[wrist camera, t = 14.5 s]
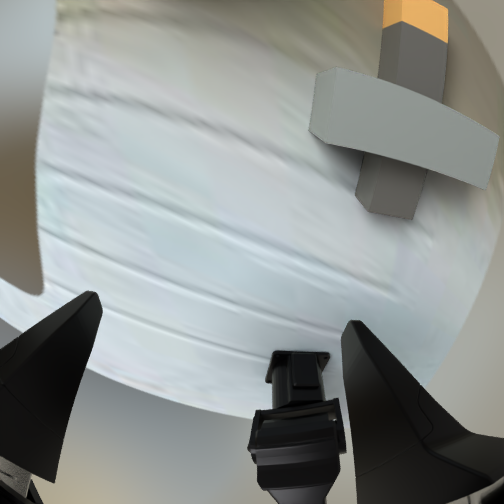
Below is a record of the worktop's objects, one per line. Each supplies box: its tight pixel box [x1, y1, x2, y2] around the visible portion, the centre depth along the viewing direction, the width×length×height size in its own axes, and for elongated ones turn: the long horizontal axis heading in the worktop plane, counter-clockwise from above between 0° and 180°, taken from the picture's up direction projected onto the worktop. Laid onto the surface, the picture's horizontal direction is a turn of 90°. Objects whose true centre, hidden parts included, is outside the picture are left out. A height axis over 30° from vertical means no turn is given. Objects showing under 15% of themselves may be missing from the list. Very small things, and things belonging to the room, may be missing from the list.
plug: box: [355, 0, 448, 220], centre depth 13 cm, size 16×4×3 cm, turn 174°
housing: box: [309, 67, 500, 190], centre depth 14 cm, size 4×12×5 cm, turn 84°
